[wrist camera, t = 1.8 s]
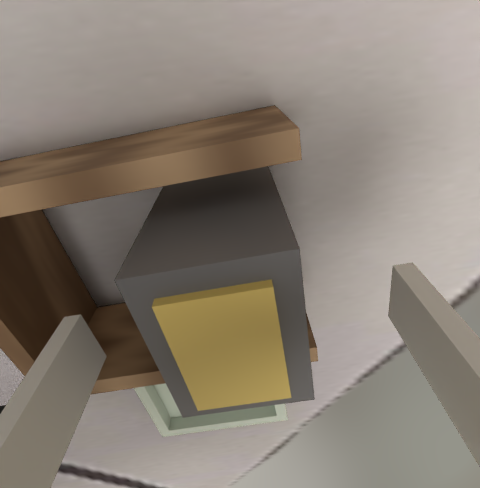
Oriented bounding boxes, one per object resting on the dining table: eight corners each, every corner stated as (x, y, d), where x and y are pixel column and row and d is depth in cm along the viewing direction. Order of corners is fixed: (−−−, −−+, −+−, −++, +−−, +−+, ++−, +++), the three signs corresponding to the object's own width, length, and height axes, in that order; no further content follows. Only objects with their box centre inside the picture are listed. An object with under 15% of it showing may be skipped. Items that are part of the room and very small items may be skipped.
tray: (165, 419, 33) (162, 437, 31) (115, 328, 26) (107, 345, 24) (285, 402, 32) (287, 420, 31) (266, 303, 25) (269, 319, 24)
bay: (89, 320, 25) (46, 400, 19) (-6, 162, 19) (-118, 210, 13) (295, 286, 24) (317, 360, 18) (274, 105, 17) (299, 128, 11)
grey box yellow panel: (201, 273, 23) (181, 426, 14) (170, 173, 19) (110, 288, 10) (279, 260, 23) (316, 408, 13) (264, 155, 19) (302, 256, 9)
